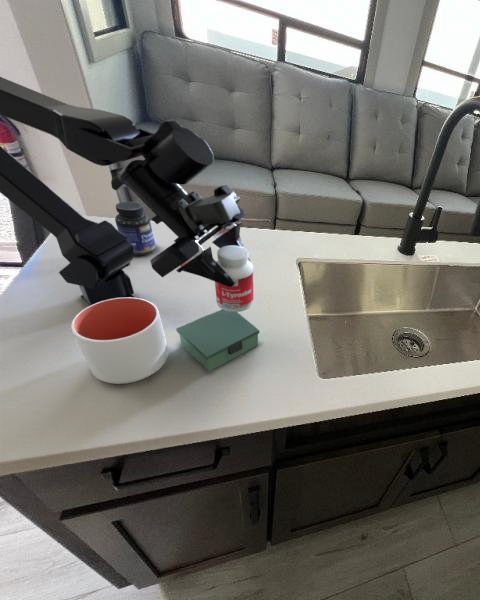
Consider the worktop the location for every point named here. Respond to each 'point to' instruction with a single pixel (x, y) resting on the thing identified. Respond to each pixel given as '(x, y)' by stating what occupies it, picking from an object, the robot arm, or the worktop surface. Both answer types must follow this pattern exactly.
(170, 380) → the worktop surface
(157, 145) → the robot arm
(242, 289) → the pill bottle
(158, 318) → the cup
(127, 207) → the pill bottle
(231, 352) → the lunchbox
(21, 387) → the worktop surface
